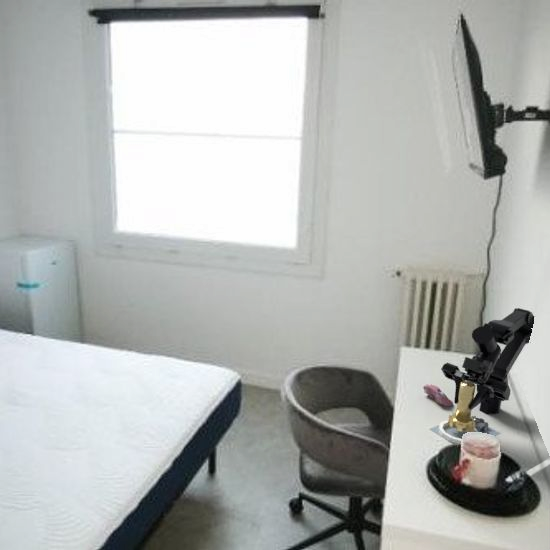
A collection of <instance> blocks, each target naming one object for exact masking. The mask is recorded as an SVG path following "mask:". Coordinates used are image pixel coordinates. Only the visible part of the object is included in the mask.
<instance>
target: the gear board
mask: <svg viewBox="0 0 550 550" xmlns="http://www.w3.org/2000/svg"><path fill="white" fill-rule="evenodd" d="M448 420H449V419H447V420H446V419H445V420H444V421H441V422H440V423H439V425H435V426H433V427H431V428H429V430H430V431H431V432H433V433H434V434H435V435H438V436H439V437H441V438H443V439H445V440H446V441H447V442H450V443H451V444H453V445H455V446H456V445H457V444H458V445H459V444H460V443H461V441H462V436H463V434H465V433H467V431H463V430H462V431H458V430H457V429H456V428H452V427H451V426H450V423H448ZM471 432H478V431H477V430H476V429H474V430H473V429H472V431H471ZM480 432H482V433H487V434H491V435H494V437H496V436H498V435H500V434H501V432H499V431H497V430H495V429H493V428H492V427H490V426H488V429H487V431H486V432H483V431H480Z"/></svg>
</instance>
